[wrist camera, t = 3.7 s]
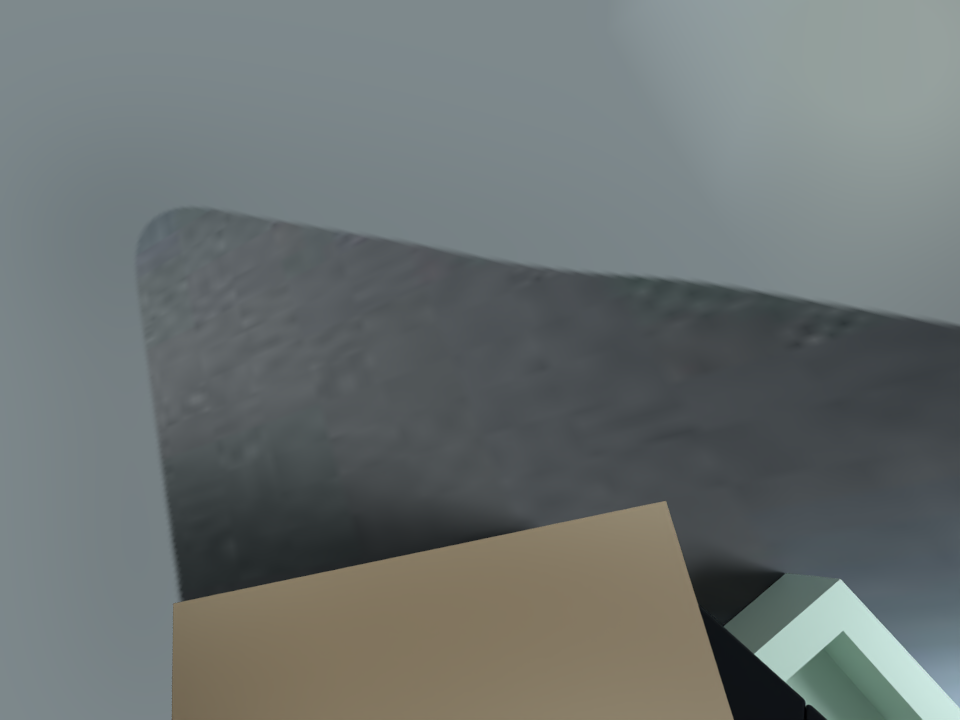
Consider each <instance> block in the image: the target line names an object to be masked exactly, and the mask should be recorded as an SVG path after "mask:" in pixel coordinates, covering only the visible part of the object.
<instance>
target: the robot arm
mask: <svg viewBox="0 0 960 720" xmlns="http://www.w3.org/2000/svg"><path fill="white" fill-rule="evenodd" d="M698 606H699V610H700V613H701V616H702V619H703V622H704V626H705V629H706V632H707V635H708V639H709V642H710V645H711V648H712V651H713V655H714V658H715V661H716V664H717V668H718V671H719V674H720V677H721V681H722V684H723V687H724V690H725V693H726V697H727V700H728V703H729V706H730V710H731V713H732V716H733V719H734V720H827V719H826V718H825V717H824V716H823V715H822V714H821V713H819V712H818V711H817V710H816V709H815V708H814V707H813V706H812V705H806V702H805V700H804V698H802V697H801V696H800V695H799V694H798V693H797V692H796V691H795V690H794V689H792V688H791V687H790V686H789V685H788V684H787V683H786V682H785V681H783V680H782V679H781V678H780V677H779V676H778V675H777V674H776V673H775V672H773V671H772V670H771V669H770V668H769V667H768V666H767V665H766V664H765V663H763V662H762V661H761V660H760V659H759V658H758V657H757V656H756V655H755V654H753V653H752V652H751V651H750V650H749V649H748V648H747V647H746V646H745V645H743V644H742V643H741V642H740V641H739V640H738V639H737V638H736V637H735V636H733V635H732V634H731V633H730V632H729V631H728V630H727V629H726V628H725V627H723V626H722V625H721V624H720V623H719V622H718V621H717V620H716V619H715V618H713V617H712V616H711V615H710V614H709V613H708V612H707V611H706V610H705V609H703V608H702V607H701V606H700V605H699V604H698Z"/></svg>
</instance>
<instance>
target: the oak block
mask: <svg viewBox="0 0 960 720" xmlns="http://www.w3.org/2000/svg"><path fill="white" fill-rule="evenodd" d="M172 671H173V672H172V675H173V676H172V720H734V719H733V716H732V713H731V710H730V706H729V703H728V700H727V697H726V693H725V690H724V687H723V684H722V681H721V677H720V674H719V671H718V668H717V664H716V661H715V658H714V655H713V651H712V648H711V645H710V642H709V639H708V635H707V632H706V629H705V626H704V622H703V619H702V616H701V613H700V610H699V606H698V603H697V600H696V597H695V593H694V590H693V587H692V584H691V580H690V577H689V574H688V571H687V568H686V564H685V561H684V558H683V555H682V551H681V548H680V545H679V542H678V539H677V535H676V532H675V529H674V526H673V522H672V519H671V516H670V513H669V509H668V506H667V503H666V501H663V502H658V503H653V504H649V505H644V506H639V507H634V508H629V509H625V510H620V511H615V512H610V513H605V514H601V515H596V516H591V517H586V518H581V519H577V520H572V521H567V522H562V523H557V524H553V525H548V526H543V527H538V528H533V529H529V530H524V531H519V532H514V533H509V534H505V535H500V536H495V537H490V538H485V539H481V540H476V541H471V542H466V543H461V544H457V545H452V546H447V547H442V548H437V549H433V550H428V551H423V552H418V553H413V554H409V555H404V556H399V557H394V558H389V559H385V560H380V561H375V562H370V563H365V564H361V565H356V566H351V567H346V568H341V569H337V570H332V571H327V572H322V573H317V574H313V575H308V576H303V577H298V578H293V579H289V580H284V581H279V582H274V583H269V584H265V585H260V586H255V587H250V588H245V589H241V590H236V591H231V592H226V593H221V594H217V595H212V596H207V597H202V598H197V599H193V600H188V601H183V602H178V603H174V604H173V670H172Z"/></svg>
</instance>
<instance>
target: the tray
mask: <svg viewBox="0 0 960 720" xmlns="http://www.w3.org/2000/svg"><path fill="white" fill-rule="evenodd" d="M723 627H725V628H726V629H727V630H728V631H729V632H730V633H731V634H732V635H733V636H735V637H736V638H737V639H738V640H739V641H740V642H741V643H742V644H743V645H745V646H746V647H747V648H748V649H749V650H750V651H751V652H752V653H753V654H755V655H756V656H757V657H758V658H759V659H760V660H761V661H762V662H763V663H765V664H766V665H767V666H768V667H769V668H770V669H771V670H772V671H773V672H775V673H776V674H777V675H778V676H779V677H780V678H781V679H782V680H783V681H785V682H786V683H787V684H788V685H789V686H790V687H791V688H792V689H794V690H795V691H796V692H797V693H798V694H799V695H800V696H801V697H802V698H804V700H805V702H806V705H812V706H813V707H814V708H815V709H816V710H817V711H818V712H819V713H821V714H822V715H823V716H824V717H825V718H826V719H827V720H960V708H959V707H958V706H957V705H956V704H955V703H954V702H953V701H952V699H951V698H950V697H949V696H948V695H947V694H946V693H945V692H944V691H943V690H942V689H941V688H940V686H939V685H938V684H937V683H936V682H935V681H934V680H933V679H932V678H931V677H930V676H929V675H928V673H927V672H926V671H925V670H924V669H923V668H922V667H921V666H920V665H919V664H918V663H917V662H916V660H915V659H914V658H913V657H912V656H911V655H910V654H909V653H908V652H907V651H906V650H905V649H904V647H903V646H902V645H901V644H900V643H899V642H898V641H897V640H896V639H895V638H894V637H893V636H892V634H891V633H890V632H889V631H888V630H887V629H886V628H885V627H884V626H883V625H882V624H881V623H880V621H879V620H878V619H877V618H876V617H875V616H874V615H873V614H872V613H871V612H870V611H869V610H868V608H867V607H866V606H865V605H864V604H863V603H862V602H861V601H860V600H859V599H858V598H857V597H856V595H855V594H854V593H853V592H852V591H851V590H850V589H849V588H848V587H847V586H846V585H845V584H844V582H843V581H842V580H841V579H835V578H826V577H817V576H808V575H799V574H790V573H786V574H784V575H783V576H782V577H781V578H780V579H779V580H777V581H776V582H775V583H774V584H773V585H771V586H770V587H769V588H768V589H767V590H766V591H764V592H763V593H762V594H761V595H760V596H759V597H757V598H756V599H755V600H754V601H753V602H752V603H750V604H749V605H748V606H747V607H746V608H745V609H743V610H742V611H741V612H740V613H739V614H737V615H736V616H735V617H734V618H733V619H732V620H730V621H729V622H728V623H727V624H726V625H725V626H723Z"/></svg>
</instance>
